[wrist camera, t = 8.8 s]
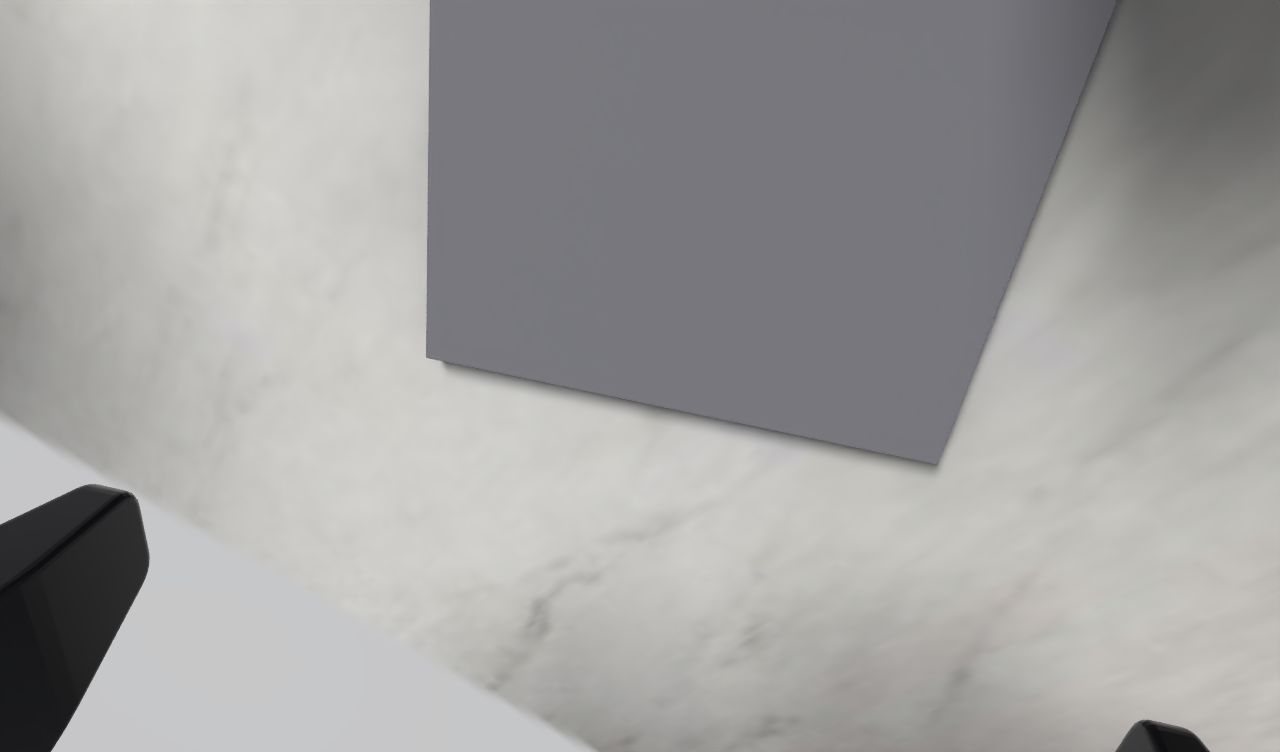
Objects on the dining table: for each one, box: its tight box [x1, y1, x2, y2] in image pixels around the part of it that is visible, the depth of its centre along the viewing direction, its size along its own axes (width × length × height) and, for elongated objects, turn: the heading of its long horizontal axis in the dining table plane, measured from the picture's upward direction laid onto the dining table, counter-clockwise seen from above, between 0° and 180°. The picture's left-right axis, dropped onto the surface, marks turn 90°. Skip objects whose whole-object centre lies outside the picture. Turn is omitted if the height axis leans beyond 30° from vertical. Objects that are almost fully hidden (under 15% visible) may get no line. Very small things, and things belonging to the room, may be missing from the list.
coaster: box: [426, 0, 1117, 464], centre depth 19 cm, size 11×11×1 cm
